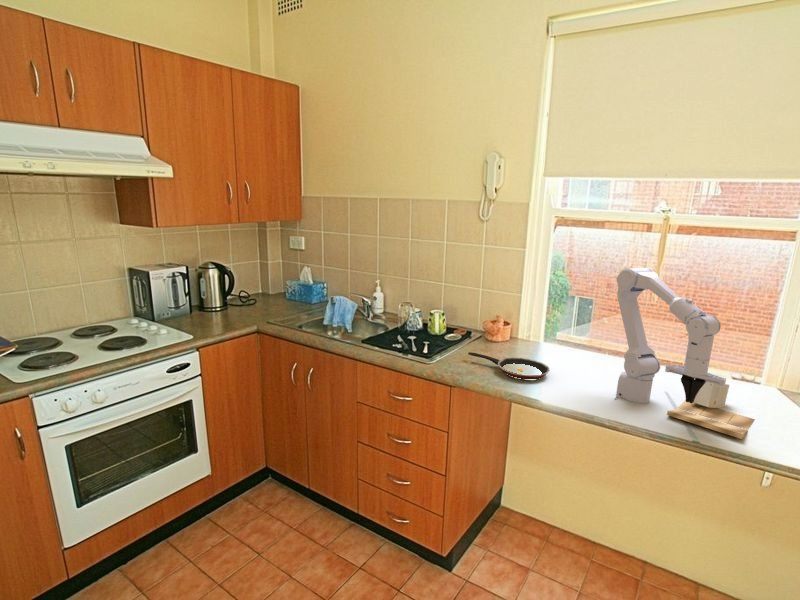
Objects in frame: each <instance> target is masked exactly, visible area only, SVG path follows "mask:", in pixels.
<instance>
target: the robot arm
mask: <svg viewBox="0 0 800 600" xmlns="http://www.w3.org/2000/svg"><path fill="white" fill-rule="evenodd" d="M615 279H616V282H617V286H618V287H617V294H616V295H617V296H616V298H617V301H618V307H619V310H620V311H619V312H620V315H621V319H622V323H623V329H624V333H625V337H626V341H627V345H628V348H627V350H626V351H625V352H624V354H623V356H624V361H623V362H624V363H623V368H624V371H622V372H621V373H620V374H619V377H618V380H617V386H616V392H615V393H616V394H615V397H614V400H619V398H623V399H625V400H628V401H631V402H634V403H637V404H648V403H649V402H650V400H651V393H652V386H653V381H654V378H655V375H656V374H658V373H659V372H660V370H661V362H660V360H659V358H658V357H657V356H656V352H655V350H654V349H653V348H652V347H650V346H649V345H648V341H647V336H646V333H645V328H644V323H643V319H642V315H641V310H640V306H639V301H638V297H639V296H640V295H641V293H643V292H644V291H646V290H649V291H650V292H652V294H654V295H656V296H657V297H658V298H659V299H660V300H662V301H664V302H665V303H666V304H667V305H669V308H668V310H669V312H670V313H671V314H673V316H675V317H676V318H677V319H678V320H679V321H680V322H682V323H683V325H685V328H686V329H685V330H686V332H687V333H688V336H687V337H688V341H687V347H686V352H685V353H686V354H685V359H684V366H680V365H674V364H666V365H665V370H664V372H666V373H672V374H676V375H680V376H681V378H680V382H681V384H682V386H683V390H684V395H685V400H686V402H689V403H693V402H694V400H695V397H696V395H697V393H698V392H699V390H700V389H701V387H702V386H703V385H704V384H705V383H706V382H710V383H714V384H718V385H719V386H723V387H724V386H725V384H727V383H726V382H727V378H726V377H722V376H719V375H716V374H713V373H710V372H708V371H709V366H710V361H711V355H712V350H713V344H714V339H715V335H717V334H718V333H719V332H720V330H721V326H722V325H721V322H720V320H719V319H718V318H717V316H715V315H713V314H706V311H705V310H702V309H700V307H698V306H697V305H696V304H694V302H693V301H694V300H693V299H692V298H690V297H689V298H688V297H685V296H681V297H680V296H678V295H677V293H675V292H674V291H673V290H672V288H670V286H668V285H667V284H666V283H665V282H664V281H663V280H662V279H661V278H660V277H659V275H658V273H657V272H655V271H653V269H652V268H650V267H648V266H647V267H634V268H630V267H625V268H623V269H621V270H620V272H619V274H618V275H617V276H616V278H615Z"/></svg>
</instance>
